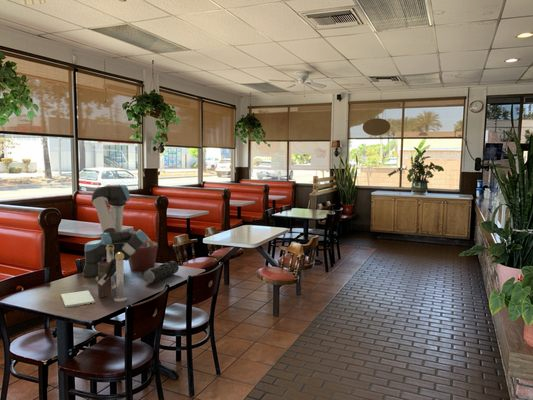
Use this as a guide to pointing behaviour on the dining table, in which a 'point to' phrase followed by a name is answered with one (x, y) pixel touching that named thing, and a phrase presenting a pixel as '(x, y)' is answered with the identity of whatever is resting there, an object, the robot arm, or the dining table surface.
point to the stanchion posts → (117, 273)
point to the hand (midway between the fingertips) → (98, 282)
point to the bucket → (143, 257)
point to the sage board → (77, 298)
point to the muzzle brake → (160, 272)
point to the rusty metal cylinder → (106, 287)
